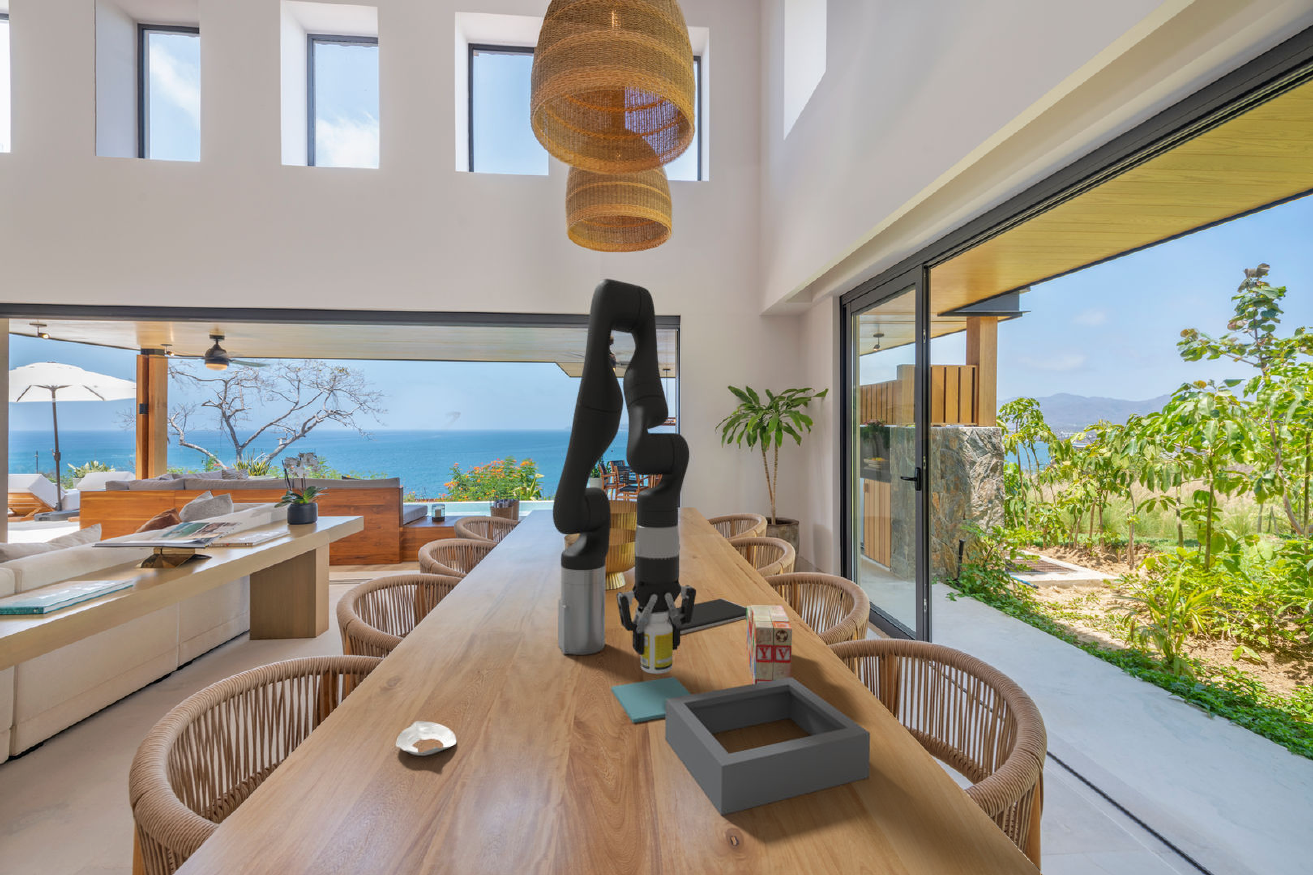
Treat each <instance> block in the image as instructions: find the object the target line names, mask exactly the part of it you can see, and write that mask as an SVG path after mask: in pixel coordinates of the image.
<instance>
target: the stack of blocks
mask: <svg viewBox="0 0 1313 875" xmlns="http://www.w3.org/2000/svg"><path fill="white" fill-rule="evenodd" d="M745 607H746V618H745V619H746V650H747V660H748V664H749V667H750V668H751V669H750V672H751V680H752V681H751V682H752V684H756V683H762V682H768V681H774V680H780V679H786V678H791V676H792V674H791V672H792V657H793V656H792V652H793V651H792V650H793V647H792V645H793V644H792V641H793V627H792V625H791V622H790V619H789V617H788V616H787V613H786V611H785V609H784V608H783V606H782V605H775V604H774V605H770V604H769V605H765V604H762V605H761V604H759V605H758V604H750V605H746V606H745Z"/></svg>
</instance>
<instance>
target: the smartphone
mask: <svg viewBox="0 0 1313 875" xmlns="http://www.w3.org/2000/svg"><path fill="white" fill-rule="evenodd" d="M676 609H677V611H678V615H679V614H680V609H681V606H679V607H676ZM743 619H746V606H743V605H740V604H739V603H735V602H733V601H730V600H727V599H725V598H717V599H714V600H708V601H703V602H699V603H694V607H693V613H692V618H691V622H690V623H685V624H683V625H682V626H681V628H680V635H683V634H688V633H692V632H696V631H699V630H698V629H700V630H703V629H708V628H711V626H712V627H715V626H714V625H716V626H719V625H724V624H728V623H732V622H736V621H741V620H743ZM667 621H668V622H670V621H669V618H668V620H667ZM731 621H732V622H731ZM727 622H728V623H727ZM723 623H724V624H723Z"/></svg>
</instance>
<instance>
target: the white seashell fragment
mask: <svg viewBox="0 0 1313 875" xmlns="http://www.w3.org/2000/svg"><path fill="white" fill-rule="evenodd" d="M430 739H432V740H436V741H437V740H438V741H439V742H440V743H442V747H437V746H435V747H433V748H430V749H427V750H424V751H422V752H421V751H420V752H419V748H416V747H415V746H413V745H415V743H417V742H419V741H420V740H423V741H425V740H426V741H427V740H430ZM456 744H457V737H456V735H455V733H454V732H453V731H452V730H451V729H450V728H449V727H447V726H444V725H442V724H440V723H436V722H432V721H426V720H425V721H424V720H423V721H421V720H414V722H413V723H412V724H411V725H410V726H409V727H407V728H405V729H403V730H402V731H401V732H400V733H399V735H398V736H397V739H396V742H395V746H396V747H397V748H400V749H401V750H402V751H404V752H407V753H409V754H411V755H414V756H423V757H424V756H430V755H433V754H436V753H439V752H441V751H443V750H446V749H449V748H450V747H452V746H453V747H454V745H456Z"/></svg>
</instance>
